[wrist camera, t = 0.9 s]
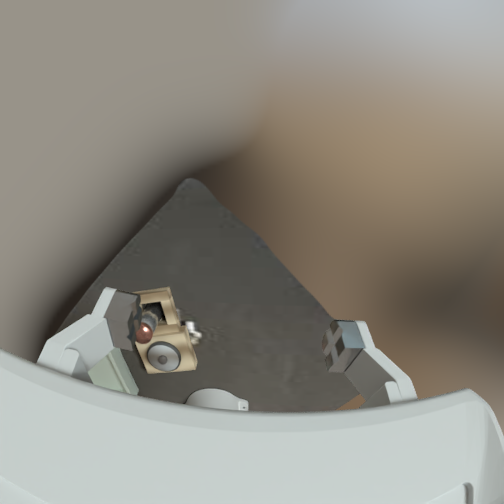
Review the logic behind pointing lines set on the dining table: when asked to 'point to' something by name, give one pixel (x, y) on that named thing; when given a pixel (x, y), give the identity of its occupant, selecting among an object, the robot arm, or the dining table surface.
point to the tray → (113, 373)
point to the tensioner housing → (166, 338)
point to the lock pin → (149, 322)
